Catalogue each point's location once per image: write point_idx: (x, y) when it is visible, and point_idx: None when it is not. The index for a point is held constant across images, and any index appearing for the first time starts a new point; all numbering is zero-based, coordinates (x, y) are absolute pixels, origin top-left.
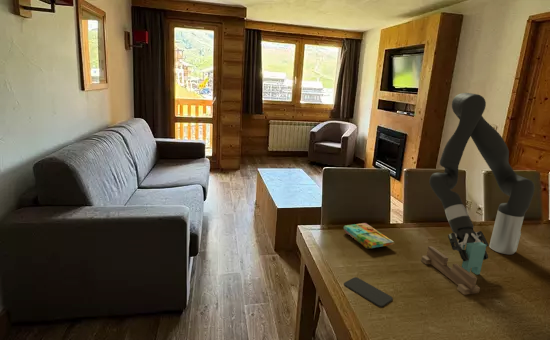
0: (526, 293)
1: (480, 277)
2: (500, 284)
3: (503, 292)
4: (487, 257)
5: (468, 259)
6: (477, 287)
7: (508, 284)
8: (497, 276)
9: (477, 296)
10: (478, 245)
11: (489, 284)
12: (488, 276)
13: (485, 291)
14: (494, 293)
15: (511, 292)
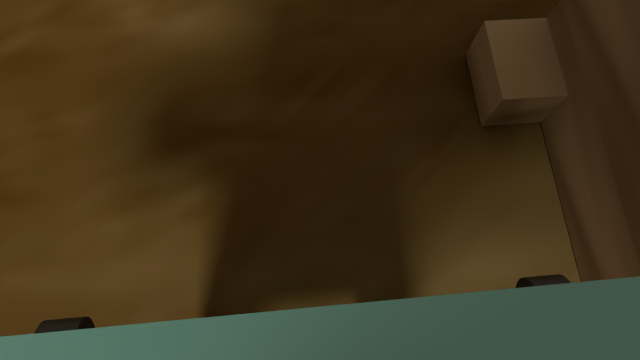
0: (4, 10)
1: (242, 288)
2: (125, 150)
3: (218, 41)
4: (58, 322)
5: (531, 277)
6: (506, 27)
7: (34, 143)
8: (3, 294)
9: (507, 17)
10: (364, 322)
11: (249, 159)
12: (122, 302)
13: (383, 67)
14: (319, 36)
15: (138, 34)
